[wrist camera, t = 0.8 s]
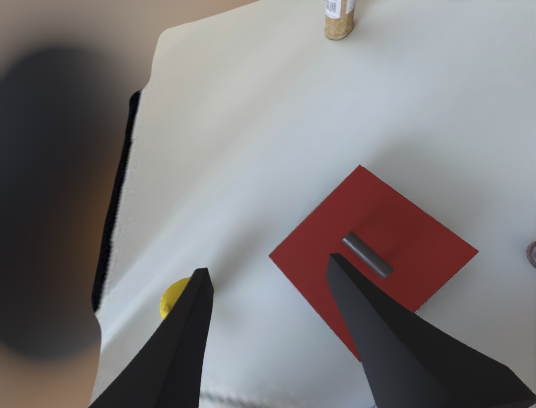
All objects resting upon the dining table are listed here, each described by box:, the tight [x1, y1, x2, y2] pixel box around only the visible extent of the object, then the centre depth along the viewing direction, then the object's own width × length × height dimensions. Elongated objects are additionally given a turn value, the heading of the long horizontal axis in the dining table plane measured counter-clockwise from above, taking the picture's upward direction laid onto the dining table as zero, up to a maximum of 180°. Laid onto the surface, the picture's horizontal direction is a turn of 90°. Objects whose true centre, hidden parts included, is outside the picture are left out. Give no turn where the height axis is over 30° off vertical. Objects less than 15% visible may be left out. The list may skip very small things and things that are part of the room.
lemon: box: [160, 277, 191, 320], centre depth 25 cm, size 6×6×8 cm
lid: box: [269, 165, 479, 362], centre depth 19 cm, size 15×14×4 cm
